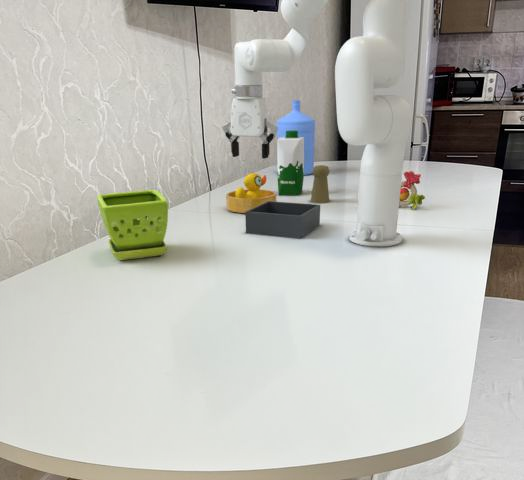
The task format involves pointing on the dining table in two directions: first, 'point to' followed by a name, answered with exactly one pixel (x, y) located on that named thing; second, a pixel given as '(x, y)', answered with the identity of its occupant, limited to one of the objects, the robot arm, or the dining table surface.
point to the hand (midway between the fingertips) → (250, 157)
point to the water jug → (300, 132)
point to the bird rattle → (405, 193)
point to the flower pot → (135, 223)
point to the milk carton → (290, 163)
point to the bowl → (247, 201)
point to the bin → (282, 219)
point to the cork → (320, 184)
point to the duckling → (252, 186)
